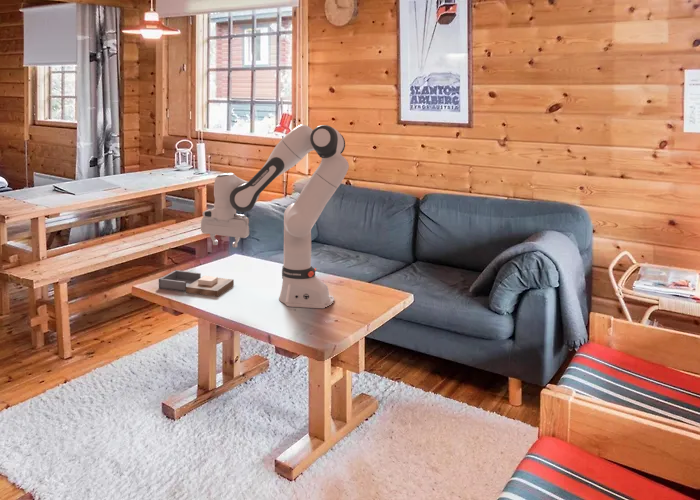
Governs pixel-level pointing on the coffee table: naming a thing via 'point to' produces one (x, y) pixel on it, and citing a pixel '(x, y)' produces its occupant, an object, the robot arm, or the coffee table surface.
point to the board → (210, 287)
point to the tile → (207, 280)
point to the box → (178, 280)
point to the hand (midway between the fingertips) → (225, 245)
